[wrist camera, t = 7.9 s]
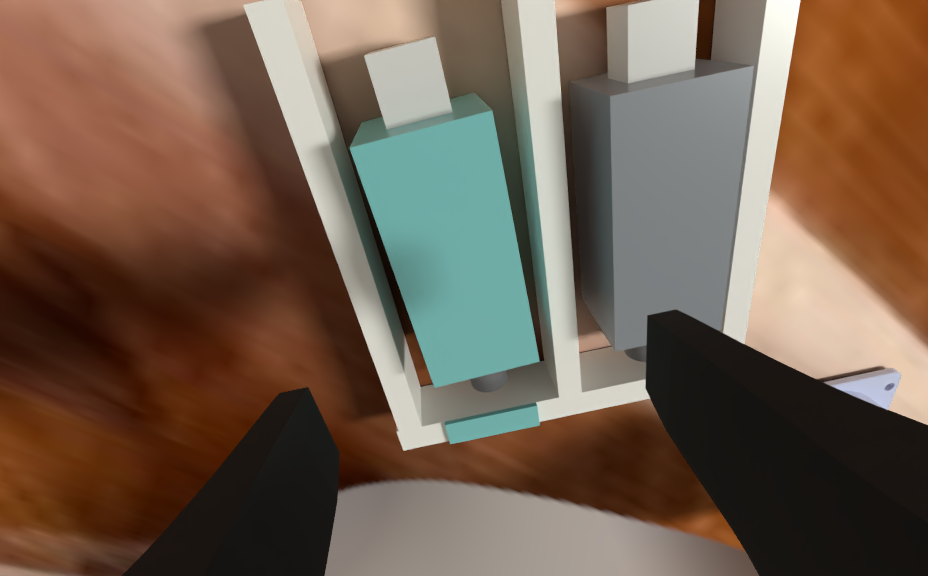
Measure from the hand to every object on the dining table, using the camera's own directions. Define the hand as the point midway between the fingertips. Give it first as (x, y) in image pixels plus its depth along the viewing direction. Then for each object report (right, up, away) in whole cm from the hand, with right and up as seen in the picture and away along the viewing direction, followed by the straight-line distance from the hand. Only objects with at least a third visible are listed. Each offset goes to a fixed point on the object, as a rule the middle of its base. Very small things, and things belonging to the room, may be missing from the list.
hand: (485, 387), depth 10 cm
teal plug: (-1, +5, +8) cm, 10 cm away
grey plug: (+6, +6, +8) cm, 12 cm away
